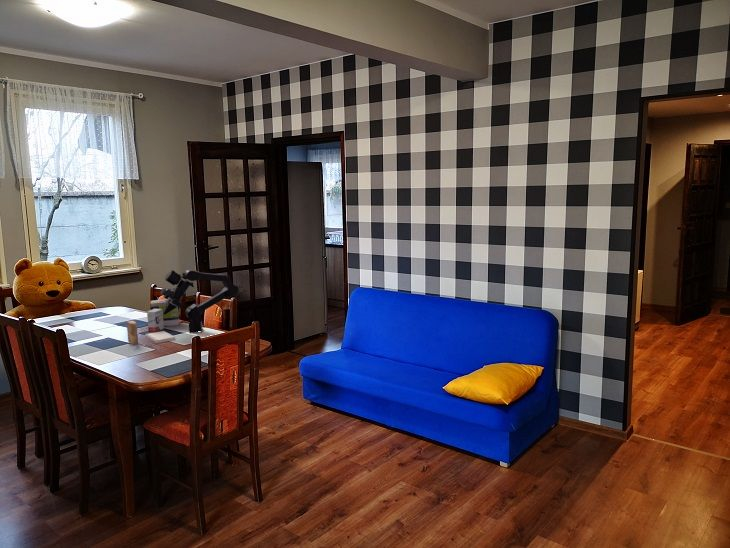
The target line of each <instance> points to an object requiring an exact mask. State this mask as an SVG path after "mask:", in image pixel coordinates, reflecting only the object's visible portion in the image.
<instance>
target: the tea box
mask: <svg viewBox="0 0 730 548" xmlns="http://www.w3.org/2000/svg"><path fill="white" fill-rule="evenodd" d="M165 299H166V298H165ZM165 299H157V300H156V299H155V300H150V303H149V304H150V305H149V306H150V310H153V309H162V310H163V312H164V310H165V307H166V301H165ZM166 300H167V299H166ZM163 323H164V327H173V326H180V315H179V307H178V306H177V308H175V309H173V310H172V311H170V312H168V313H167V314H163Z"/></svg>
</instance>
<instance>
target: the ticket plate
mask: <svg viewBox="0 0 730 548" xmlns="http://www.w3.org/2000/svg"><path fill="white" fill-rule="evenodd" d="M145 337H146V338H147V339H148V340H149V341H150V340H151V341H152V342H153V343H155V344H158V343H165V342H170V341H175V340H176V336H174V335H172V334H170V333H168V332H167V331H165V330H160V331H157V332H149V333H145Z"/></svg>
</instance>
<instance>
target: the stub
mask: <svg viewBox="0 0 730 548" xmlns="http://www.w3.org/2000/svg"><path fill="white" fill-rule="evenodd" d="M126 331H127V341H128V343H130V344H131V345H137V344H139V334H138V325H137V322H136V321H134V320H129V321H126Z"/></svg>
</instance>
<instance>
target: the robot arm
mask: <svg viewBox="0 0 730 548" xmlns="http://www.w3.org/2000/svg"><path fill="white" fill-rule="evenodd" d="M203 280H204V281H212V282H213V281H215V282H221V283H222V285H223V286H224V287H223V289H222V290H221V291H219V292H217V294H214V295H213V296H212V297H209V298H208V299H206V300H204V301H203V302H201V303H199V304H196V303H193V304H191V305H190V306H187V308H186V309H185V311H184V315H185V316H186V317H187V318H188V320H189V323H188V331H189V332H188V333H189V334H192V333H191V332H198V331H202V330H203V331H204V328H203V317H202V316H201V315H202V313H203V312H204V311H207V310H208V309H209V308H210V307H212V306H214V305H216V304H218V303H219V302H221V301H223V300H224V299H227V298H230V297H234V296H236V295H238V293H239V287H238V286H237V285H236V284H234V283H233V281H231V279H230V278H229V276H227V275H226V274H224V273H221V274H220V273H209V272H208V273H207V272H200V271H197V270H194V269H191V268H190V269H186V270H185V272H183V273H177V272H176V271H175V270H173V269H171V271H169V272H168V273H167V274H166V275H165V277H164V281H165V282H167V283H169V284H171V285H172V286H175V285H176V287H174V288H172V289H171V288H161V291H160V294H161V295H162V296H163V299H164V300H165V301H166V307H165V310H164V312H163V314H167V313H168V312H170V311H172V310H173V309H175V308H177V306H178V309H183V307H184V304H183V302H181V301H182V300H181V299H182V298H183V297H185V296H186V292H187V290H188V289H189V287H192V288H194V281H196V282H197V281H203ZM166 299H167V300H166ZM203 331H202V332H203Z"/></svg>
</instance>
